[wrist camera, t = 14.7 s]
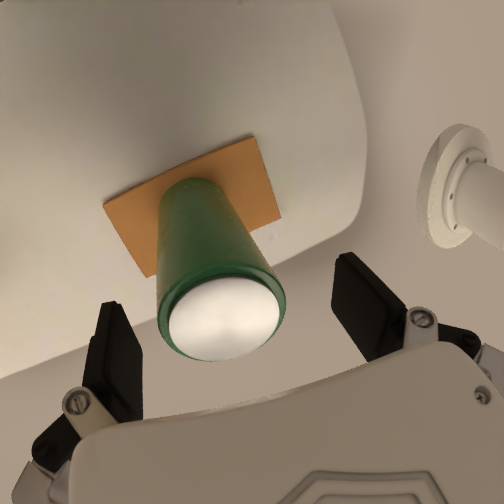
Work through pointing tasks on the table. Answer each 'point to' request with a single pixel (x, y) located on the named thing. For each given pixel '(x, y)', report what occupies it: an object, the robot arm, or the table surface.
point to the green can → (212, 277)
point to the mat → (206, 166)
